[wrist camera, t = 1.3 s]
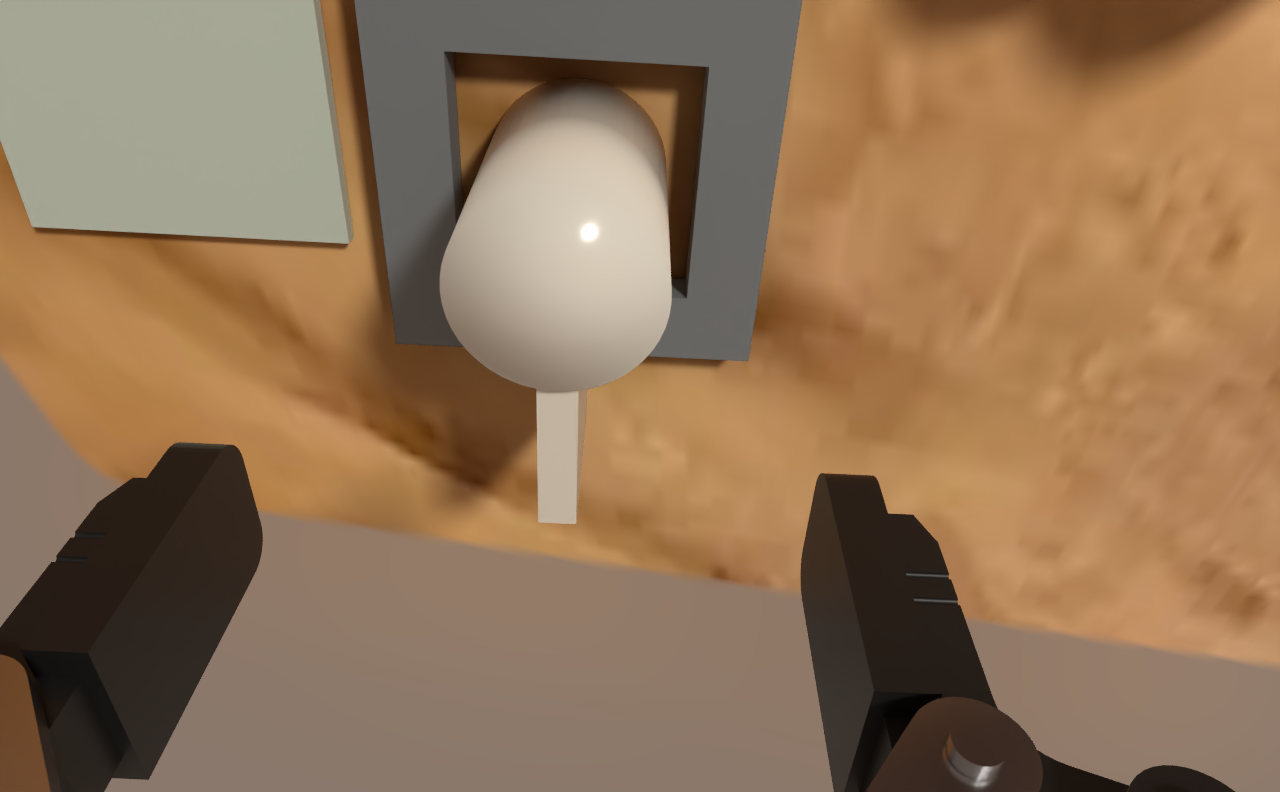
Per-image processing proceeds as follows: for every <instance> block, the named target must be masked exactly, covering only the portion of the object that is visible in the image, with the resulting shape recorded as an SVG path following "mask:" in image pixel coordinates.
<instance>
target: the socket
mask: <svg viewBox="0 0 1280 792" xmlns="http://www.w3.org/2000/svg"><path fill="white" fill-rule="evenodd" d="M354 2H355V10H356V18H357V26H358V35H359V43H360V51H361V59H362V67H363V75H364V84H365V92H366V100H367V108H368V116H369V125H370V133H371V141H372V149H373V157H374V166H375V174H376V182H377V190H378V198H379V207H380V215H381V223H382V231H383V239H384V247H385V256H386V264H387V272H388V280H389V288H390V297H391V305H392V313H393V321H394V329H395V338H396V344H415V345H435V346H454V347H464V346H463V345H462V344H461V343H460V342H459V340H458V339H457V337H456V335H455V334H454V332H453V331H452V329H451V327H450V325H449V323H448V321H447V318H446V316H445V313H444V310H443V306H442V302H441V296H440V271H441V264H442V261H443V257H444V254H445V251H446V248H447V246H448V244H449V241H450V239H451V236H452V234H453V231H454V229H455V227H456V224H457V222H458V219H459V217H460V215H461V212H462V210H463V192H462V176H461V160H460V145H459V129H458V113H457V98H456V82H455V66H454V52H464V53H481V54H498V55H515V56H532V57H550V58H567V59H584V60H601V61H618V62H635V63H652V64H669V65H686V66H703V67H705V78H704V88H703V99H702V109H701V120H700V131H699V141H698V152H697V162H696V173H695V183H694V194H693V205H692V215H691V226H690V236H689V247H688V257H687V268H686V279H680V278H671V286H672V303H671V309H670V315H669V319H668V322H667V325H666V328H665V330H664V332H663V334H662V336H661V338H660V340H659V342H658V343H657V345H656V346H655V348H654V349H653V351H652V352H651V353H650V354H649V355H648V356H653V357H673V358H693V359H712V360H732V361H748V360H749V353H750V347H751V340H752V333H753V327H754V320H755V313H756V307H757V300H758V293H759V287H760V280H761V273H762V266H763V260H764V253H765V246H766V240H767V233H768V226H769V220H770V213H771V206H772V200H773V193H774V186H775V179H776V173H777V166H778V159H779V153H780V146H781V139H782V133H783V126H784V119H785V113H786V106H787V99H788V92H789V86H790V79H791V72H792V66H793V59H794V52H795V46H796V39H797V32H798V26H799V19H800V12H801V5H802V0H354Z"/></svg>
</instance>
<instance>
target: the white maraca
mask: <svg viewBox="0 0 1280 792" xmlns="http://www.w3.org/2000/svg"><path fill="white" fill-rule="evenodd" d="M440 296H441V302H442V306H443V310H444V313H445V316H446V318H447V321H448V323H449V325H450V327H451V329H452V331H453V332H454V334H455V335H456V337H457V339H458V340H459V342H460V343H461V344H462V345H463V346H464V348H465V349H466V350H467V351H468V352H469V353H470V354H471V355H472V356H473V357H474V358H475V359H476V360H477V361H478V362H480V363H481V364H482V365H484V366H485V367H486V368H488V369H489V370H491V371H492V372H494V373H496V374H498V375H499V376H501V377H503V378H505V379H507V380H510V381H512V382H514V383H517V384H520V385H523V386H526V387H530V388H535V389H536V397H537V462H538V522H542V523H563V524H576V520H577V510H578V499H579V489H580V478H581V468H582V457H583V447H584V436H585V426H586V415H587V389H590V388H594V387H598V386H601V385H604V384H607V383H610V382H612V381H614V380H616V379H618V378H620V377H622V376H624V375H625V374H627V373H628V372H630V371H631V370H633V369H634V368H635V367H637V366H638V365H639V364H640V363H641V362H642V361H644V360H645V358H646V357H647V356H648V355H649V354H650V353H651V352H652V351H653V349H654V348H655V346H656V345H657V343H658V342H659V340H660V338H661V336H662V334H663V332H664V330H665V328H666V325H667V322H668V319H669V315H670V309H671V303H672V286H671V263H670V239H669V216H668V192H667V169H666V156H665V150H664V146H663V142H662V139H661V136H660V134H659V132H658V129H657V127H656V126H655V124H654V122H653V121H652V119H651V118H650V116H649V115H648V114H647V112H646V111H645V110H644V109H643V108H642V107H641V106H640V105H639V104H638V103H637V102H636V101H635V100H634V99H632V98H631V97H630V96H628V95H627V94H626V93H624V92H622V91H620V90H619V89H617V88H615V87H613V86H610V85H608V84H605V83H602V82H599V81H595V80H590V79H582V78H566V79H559V80H554V81H551V82H547V83H544V84H542V85H539V86H537V87H535V88H533V89H531V90H530V91H528V92H526V93H525V94H523V95H522V96H521V97H520V98H518V99H517V100H516V101H515V102H514V103H513V104H512V105H511V106H510V107H509V109H508V110H507V111H506V112H505V114H504V115H503V117H502V118H501V120H500V122H499V124H498V126H497V128H496V130H495V133H494V135H493V138H492V140H491V143H490V145H489V147H488V150H487V152H486V155H485V157H484V159H483V162H482V164H481V167H480V169H479V171H478V174H477V176H476V179H475V181H474V183H473V186H472V188H471V191H470V193H469V195H468V198H467V200H466V203H465V205H464V207H463V210H462V212H461V215H460V217H459V219H458V222H457V224H456V227H455V229H454V231H453V234H452V236H451V239H450V241H449V244H448V246H447V248H446V251H445V254H444V257H443V261H442V264H441V271H440Z"/></svg>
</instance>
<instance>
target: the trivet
mask: <svg viewBox="0 0 1280 792" xmlns="http://www.w3.org/2000/svg"><path fill="white" fill-rule="evenodd" d="M0 141H1V143H2V146H3V149H4V151H5V154H6V157H7V160H8V162H9V165H10V168H11V170H12V173H13V176H14V179H15V181H16V184H17V187H18V189H19V192H20V195H21V198H22V200H23V203H24V206H25V209H26V211H27V214H28V217H29V219H30V222H31V225H32V227H43V228H62V229H81V230H100V231H119V232H138V233H156V234H175V235H194V236H213V237H232V238H251V239H269V240H288V241H307V242H326V243H345V244H349V243H350V241H351V240H352V238H353V237H354V235H353V228H352V221H351V214H350V207H349V200H348V193H347V186H346V179H345V172H344V165H343V158H342V151H341V144H340V137H339V130H338V123H337V116H336V109H335V102H334V95H333V88H332V81H331V74H330V67H329V60H328V53H327V46H326V39H325V32H324V25H323V18H322V11H321V4H320V0H0Z"/></svg>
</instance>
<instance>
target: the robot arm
mask: <svg viewBox="0 0 1280 792" xmlns="http://www.w3.org/2000/svg"><path fill="white" fill-rule="evenodd" d="M262 541H263V537H262V527H261V523H260V519H259V515H258V512H257V508H256V504H255V501H254V497H253V493H252V490H251V486H250V483H249V479H248V475H247V472H246V468H245V464H244V461H243V457H242V455H241V453H240V451H239V449H238V448H237V447H236V446H234V445H224V444H202V443H175V444H173V445H172V446H171V447H170V448H169V449H168V450H167V451H166V453H165V454H164V455H163V457H162V458H161V459H160V461H159V462H158V463H157V465H156V466H155V467H154V469H153V470H152V472H151V473H150V474H149V476H148V477H147V478H132V479H131V480H129V481H128V482H126V483H125V484H124V485H122V486H121V487H119V488H118V489H116V490H115V491H114V492H112V493H111V494H109V495H108V496H107V497H105V498H104V499H102V500H101V501H99V502H98V503H97V504H96V506H95V507H94V508H93V510H92V511H91V512H90V514H89V515H88V516H87V517H86V519H85V520H84V521H83V523H82V524H81V525H80V526H79V527H78V529H77V530H76V532H75V537H74V538H70V539H69V541H68V542H67V543H66V544H65V545H64V547H63V548H62V549H61V551H60V552H59V553H58V554H57V556H56V557H57V560H56V562H51V564H50V565H49V566H48V567H47V568H46V570H45V571H44V572H43V574H42V575H41V576H40V578H39V579H38V580H37V581H36V583H35V584H34V585H33V586H32V588H31V589H30V590H29V591H28V593H27V594H26V595H25V597H24V598H23V599H22V600H21V602H20V603H19V604H18V606H17V607H16V608H15V609H14V611H13V612H12V613H11V614H10V616H9V617H8V618H7V620H6V621H5V622H4V623H3V625H2V626H1V627H0V792H104V791H105V789H106V787H107V785H108V783H109V782H110V780H111V778H124V779H146V780H148V779H149V778H150V776H151V774H152V772H153V770H154V768H155V766H156V764H157V762H158V760H159V758H160V757H161V755H162V753H163V751H164V749H165V747H166V745H167V743H168V741H169V739H170V737H171V735H172V733H173V731H174V729H175V727H176V725H177V723H178V722H179V720H180V718H181V716H182V714H183V712H184V710H185V708H186V706H187V704H188V702H189V700H190V698H191V696H192V694H193V693H194V690H195V688H196V686H197V685H198V683H199V681H200V679H201V677H202V675H203V673H204V671H205V669H206V667H207V665H208V663H209V662H210V659H211V658H212V656H213V654H214V652H215V650H216V648H217V646H218V644H219V642H220V640H221V638H222V636H223V634H224V632H225V630H226V628H227V627H228V624H229V623H230V621H231V619H232V617H233V615H234V613H235V611H236V609H237V607H238V605H239V603H240V601H241V599H242V597H243V595H244V594H245V592H246V590H247V588H248V586H249V584H250V582H251V580H252V578H253V576H254V574H255V572H256V570H257V567H258V564H259V561H260V557H261V552H262ZM948 575H949V573H948V570H947V567H946V564H945V561H944V558H943V556H942V553H941V550H940V547H939V544H938V542H937V541H936V540H935V539H934V538H933V537H932V535H931V534H930V533H929V532H928V531H927V530H926V529H925V528H924V527H923V525H922V524H921V523H920V522H919V521H918V520H917V519H916V518H915V516H914V515H906V514H888V512H887V509H886V506H885V502H884V499H883V496H882V492H881V489H880V486H879V483H878V480H877V479H876V477H875V476H868V475H846V474H824V473H821V474H820V475H819V477H818V479H817V482H816V486H815V491H814V496H813V501H812V506H811V511H810V517H809V522H808V527H807V532H806V537H805V542H804V547H803V552H802V560H801V594H802V601H803V607H804V613H805V619H806V625H807V631H808V637H809V643H810V649H811V656H812V661H813V668H814V674H815V680H816V686H817V692H818V698H819V703H820V710H821V716H822V721H823V728H824V734H825V740H826V746H827V752H828V758H829V764H830V770H831V776H832V782H833V788H834V792H1235V791H1233V790H1232V789H1230V788H1229V787H1228V786H1226V785H1225V784H1223V783H1221V782H1220V781H1218V780H1216V779H1214V778H1212V777H1210V776H1208V775H1206V774H1203V773H1201V772H1199V771H1195V770H1192V769H1189V768H1185V767H1179V766H1169V765H1168V766H1166V765H1162V766H1156V767H1152V768H1149V769H1146V770H1144V771H1143V772H1141V773H1140V774H1138V775H1137V776H1136V777H1135V778H1134V780H1133V781H1132V782H1131V784H1130V786H1128V785H1125V784H1122V783H1119V782H1116V781H1113V780H1110V779H1107V778H1104V777H1101V776H1098V775H1095V774H1092V773H1089V772H1086V771H1083V770H1080V769H1077V768H1074V767H1071V766H1068V765H1066V764H1063V763H1061V762H1058V761H1056V760H1054V759H1052V758H1050V757H1048V756H1046V755H1044V754H1043V753H1041V752H1040V751H1038V750H1037V749H1036V747H1035V745H1034V743H1033V741H1032V740H1031V739H1030V737H1029V736H1028V735H1027V733H1026V732H1025V731H1024V730H1023V729H1022V728H1021V726H1019V724H1018V723H1016V722H1015V721H1014V720H1012V718H1010V717H1009V716H1008V715H1006V714H1005V713H1003V712H1002V711H1000V710H998V708H997V706H996V704H995V701H994V699H993V697H992V694H991V691H990V688H989V686H988V683H987V680H986V677H985V674H984V671H983V668H982V666H981V663H980V660H979V657H978V654H977V651H976V649H975V646H974V643H973V640H972V637H971V635H970V632H969V629H968V626H967V623H966V620H965V618H964V615H963V612H962V609H961V606H960V605H958V603H957V600H958V598H957V595H956V592H955V589H954V587H953V584H952V581H951V580H950V579H949V577H948Z"/></svg>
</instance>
